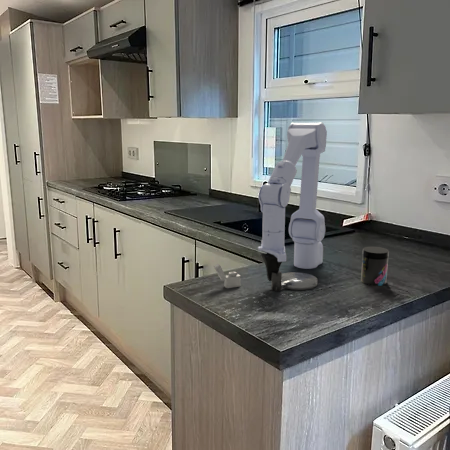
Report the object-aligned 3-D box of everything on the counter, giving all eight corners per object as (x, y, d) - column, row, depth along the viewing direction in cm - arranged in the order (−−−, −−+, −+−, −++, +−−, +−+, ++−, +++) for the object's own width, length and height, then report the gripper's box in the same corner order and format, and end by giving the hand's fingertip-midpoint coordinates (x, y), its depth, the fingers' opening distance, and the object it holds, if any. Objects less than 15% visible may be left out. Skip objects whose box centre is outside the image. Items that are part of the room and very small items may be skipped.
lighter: (238, 289, 124) (238, 260, 123) (240, 291, 123) (240, 262, 121) (213, 292, 122) (213, 263, 120) (216, 294, 120) (215, 265, 119)
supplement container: (370, 292, 122) (373, 254, 120) (355, 283, 128) (357, 247, 126) (391, 288, 124) (394, 251, 122) (375, 281, 130) (378, 245, 128)
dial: (294, 273, 132) (295, 257, 131) (325, 283, 124) (326, 266, 123) (257, 285, 123) (258, 268, 122) (288, 296, 115) (289, 278, 114)
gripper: (250, 224, 124) (250, 272, 127) (267, 237, 110) (266, 291, 113) (275, 223, 126) (274, 270, 129) (295, 236, 112) (293, 288, 115)
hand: (272, 280), depth 121 cm, fingers closed, pressing on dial
